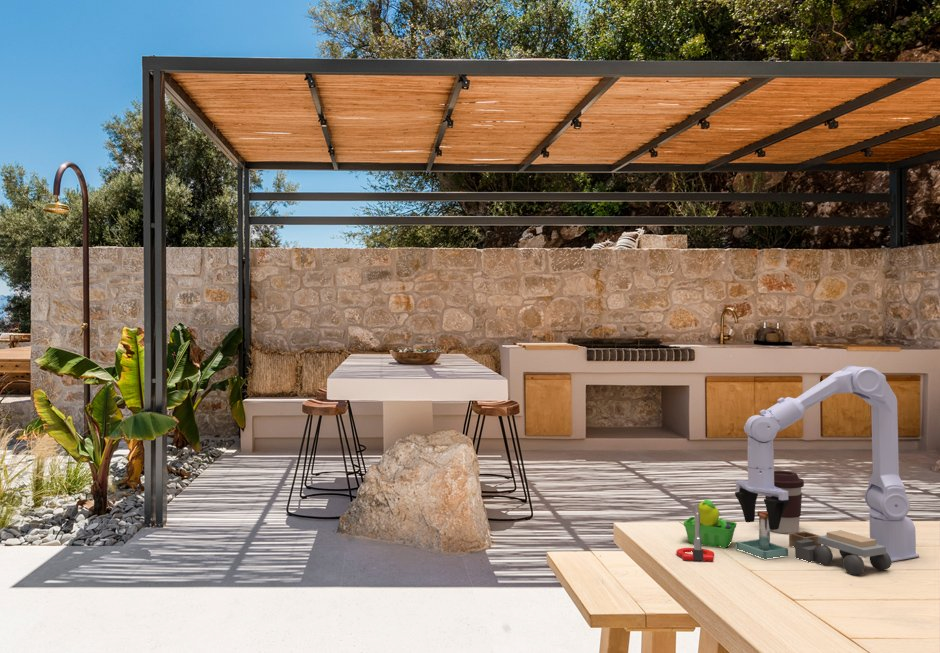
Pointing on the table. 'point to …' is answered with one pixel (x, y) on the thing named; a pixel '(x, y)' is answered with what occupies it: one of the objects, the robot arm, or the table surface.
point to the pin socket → (803, 537)
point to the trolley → (851, 551)
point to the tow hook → (696, 544)
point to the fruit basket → (710, 526)
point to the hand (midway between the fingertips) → (761, 525)
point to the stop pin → (764, 531)
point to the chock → (804, 549)
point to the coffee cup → (793, 509)
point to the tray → (753, 548)
